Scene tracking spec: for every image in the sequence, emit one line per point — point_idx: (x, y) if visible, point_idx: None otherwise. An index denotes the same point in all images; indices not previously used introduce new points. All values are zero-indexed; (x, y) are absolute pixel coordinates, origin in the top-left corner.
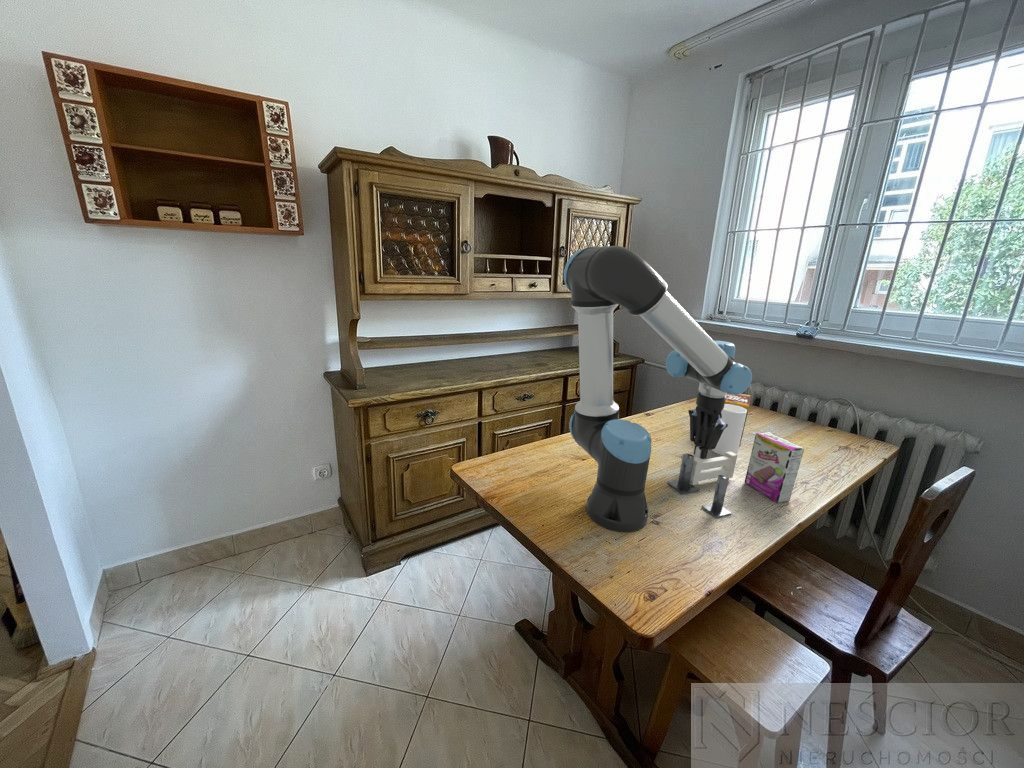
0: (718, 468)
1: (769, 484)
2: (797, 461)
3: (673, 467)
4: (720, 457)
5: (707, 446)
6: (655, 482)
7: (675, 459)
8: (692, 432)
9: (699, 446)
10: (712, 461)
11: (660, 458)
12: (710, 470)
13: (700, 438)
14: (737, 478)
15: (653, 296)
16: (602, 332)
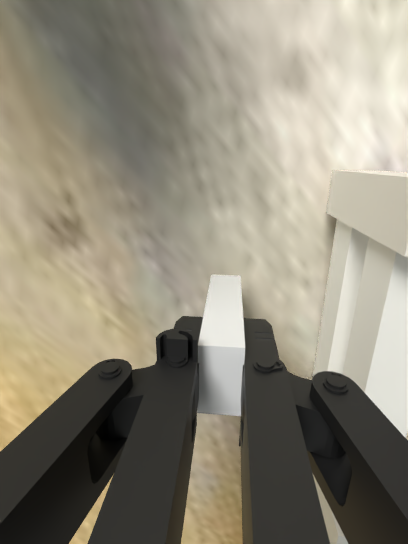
0: (352, 278)
1: None
2: None
3: (152, 354)
4: (393, 324)
5: (323, 466)
6: (235, 491)
7: (81, 285)
8: (77, 516)
9: (202, 388)
10: (405, 434)
11: (59, 346)
12: (345, 346)
13: (188, 461)
14: (376, 105)
15: None
16: None
